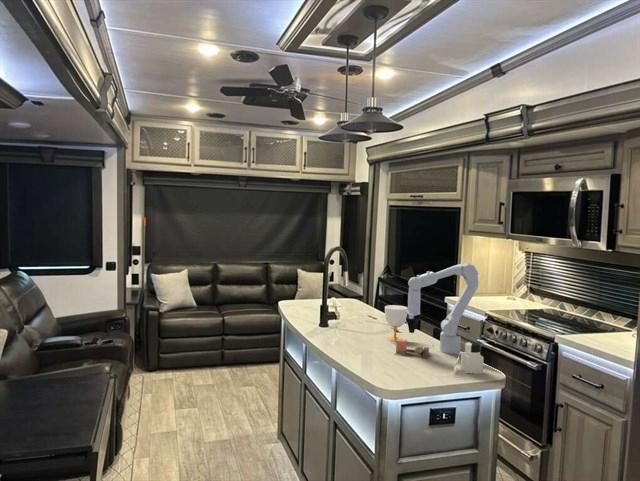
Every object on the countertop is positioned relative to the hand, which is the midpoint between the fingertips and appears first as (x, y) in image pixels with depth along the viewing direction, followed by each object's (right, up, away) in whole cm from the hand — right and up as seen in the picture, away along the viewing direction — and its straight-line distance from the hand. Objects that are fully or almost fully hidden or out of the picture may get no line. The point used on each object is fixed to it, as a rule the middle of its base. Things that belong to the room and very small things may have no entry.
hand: (413, 330), depth 225 cm
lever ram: (-7, -9, -6) cm, 12 cm away
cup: (-5, -9, +22) cm, 24 cm away
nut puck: (+1, -9, -8) cm, 13 cm away
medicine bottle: (+20, -12, -26) cm, 35 cm away
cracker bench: (-2, -10, -7) cm, 13 cm away
